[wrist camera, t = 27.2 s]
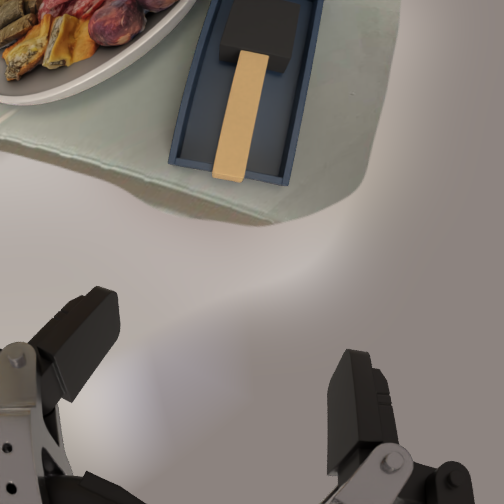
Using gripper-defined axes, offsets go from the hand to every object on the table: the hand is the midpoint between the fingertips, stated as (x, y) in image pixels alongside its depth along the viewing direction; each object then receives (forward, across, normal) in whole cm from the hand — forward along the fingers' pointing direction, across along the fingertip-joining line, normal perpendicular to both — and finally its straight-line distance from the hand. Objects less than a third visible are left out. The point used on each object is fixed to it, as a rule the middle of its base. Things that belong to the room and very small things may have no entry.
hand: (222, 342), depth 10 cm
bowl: (+21, +25, -20) cm, 38 cm away
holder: (+23, +5, -11) cm, 26 cm away
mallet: (+20, +4, -9) cm, 23 cm away
